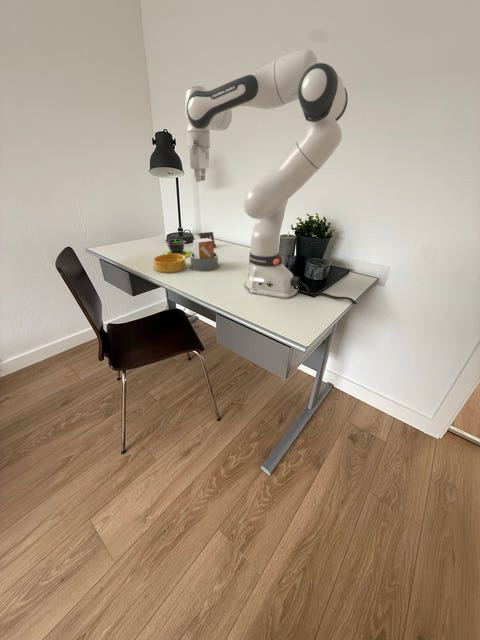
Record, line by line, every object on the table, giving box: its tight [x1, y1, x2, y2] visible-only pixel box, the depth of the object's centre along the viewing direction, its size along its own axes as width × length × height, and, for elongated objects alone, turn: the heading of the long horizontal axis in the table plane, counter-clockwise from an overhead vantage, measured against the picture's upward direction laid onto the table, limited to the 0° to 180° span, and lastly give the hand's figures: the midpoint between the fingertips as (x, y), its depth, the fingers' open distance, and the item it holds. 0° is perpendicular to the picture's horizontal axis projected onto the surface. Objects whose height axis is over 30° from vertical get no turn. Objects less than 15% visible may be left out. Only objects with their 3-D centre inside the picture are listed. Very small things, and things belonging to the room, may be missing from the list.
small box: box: [192, 238, 215, 259], centre depth 132 cm, size 8×6×13 cm
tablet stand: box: [198, 231, 217, 248], centre depth 166 cm, size 9×8×8 cm
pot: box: [189, 251, 219, 272], centre depth 133 cm, size 14×14×6 cm
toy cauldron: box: [164, 234, 191, 258], centre depth 150 cm, size 15×15×11 cm
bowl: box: [152, 253, 187, 274], centre depth 131 cm, size 15×15×5 cm
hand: (200, 181), depth 112 cm, fingers open, 8 cm apart
